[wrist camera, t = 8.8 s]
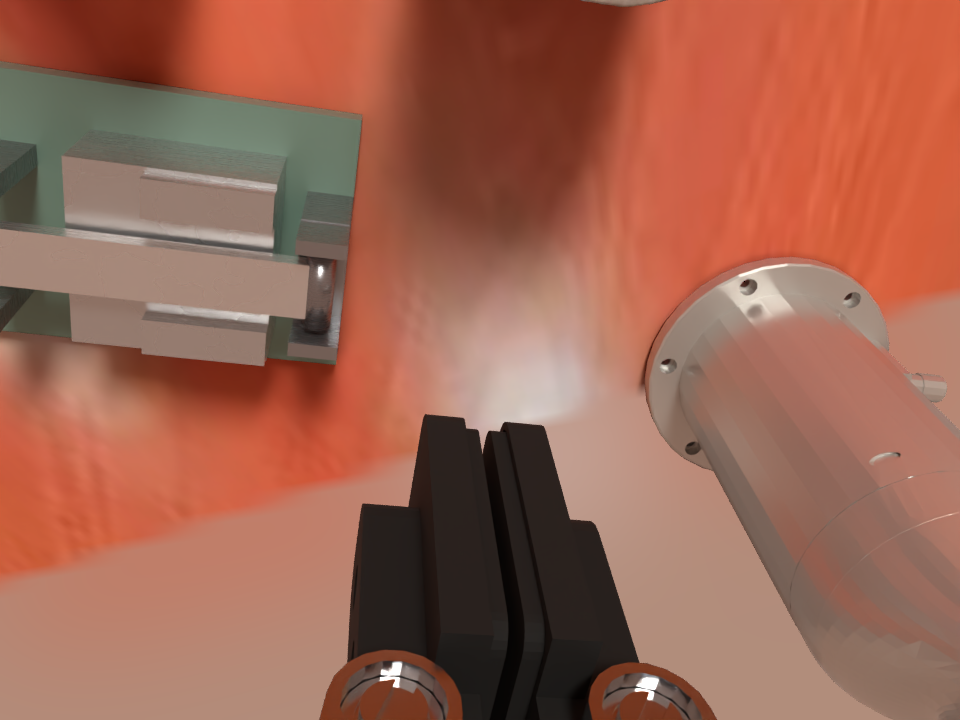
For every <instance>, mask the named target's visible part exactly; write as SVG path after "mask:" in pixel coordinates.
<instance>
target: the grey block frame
mask: <svg viewBox="0 0 960 720" xmlns="http://www.w3.org/2000/svg"><path fill="white" fill-rule="evenodd" d="M61 157H62V175H63V193H64V210H65V228H67V229H75V230H83V231H91V232H100V233H108V234H116V235H124V236H133V237H141V238H149V239H157V240H166V241H174V242H182V243H191V244H199V245H207V246H215V247H224V248H232V249H240V250H248V251H257V252H265V253H273V254H280V252H281V237H282V222H283V207H284V192H285V177H286V162H287V156H279V155H272V154H265V153H258V152H250V151H243V150H236V149H229V148H222V147H214V146H207V145H200V144H193V143H185V142H178V141H171V140H164V139H156V138H149V137H142V136H135V135H128V134H120V133H113V132H106V131H99V130H90V131H89V132H88V133H86V134H85V135H84V136H83V137H82V138H81V139H80V140H79V141H77V142H76V143H75V144H74V145H73V146H72V147H71V148H70V149H69V150H67V151H66V152H65V153H64V154H63V155H62V156H61ZM37 165H38V163H37V148H36V144H30V143H23V142H15V141H8V140H0V197H1V196H3V195H4V194H5V193H6V192H7V191H8V190H10V189H11V188H12V187H13V186H14V185H15V184H17V183H18V182H19V181H20V180H21V179H22V178H24V177H25V176H26V175H27V174H28V173H29V172H30V171H32V170H33V169H34V168H35V167H36V166H37ZM353 199H354V197H351V196H343V195H336V194H328V193H320V192H313V191H308V193H307V197H306V201H305V205H304V209H303V213H302V217H301V222H300V226H299V230H298V234H297V238H296V246H295V255H298V257H306V258H307V256H311V257H319V258H328V259H336V260H337V264H336V274H335V284H334V294H333V304H332V315H331V325H330V328H329V329H328V330H325V331H311V330H308V329H305V328H304V327H303V326H302V325H301V321H302V319H298V318H293V323H292V327H291V332H290V337H289V342H288V352H287V356H295V357H305V358H314V359H324V360H334V361H336V360H337V350H338V341H339V331H340V322H341V313H342V303H343V294H344V284H345V275H346V265H347V256H348V246H349V237H350V227H351V218H352V209H353ZM34 291H35V290H34V289H25V288H16V287H7V286H0V332H1V331H2V330H3V328H4V327H5V326H6V325H7V324H8V322H9V321H10V320H11V319H12V318H13V316H14V315H15V314H16V313H17V312H18V310H19V309H20V308H21V307H22V306H23V304H24V303H25V302H26V301H27V299H28V298H29V297H30V296H31V295H32V293H33V292H34ZM69 299H70V317H71V334H72V341H73V342H83V343H93V344H103V345H113V346H122V347H132V348H142V354H147V355H157V356H167V357H177V358H187V359H197V360H207V361H217V362H227V363H237V364H247V365H257V366H264V364H265V361H266V359H267V355H268V351H269V347H270V343H271V339H272V335H273V331H274V327H275V323H276V316H271V315H262V314H253V313H244V312H234V311H225V310H216V309H207V308H198V307H189V306H180V305H171V304H162V303H153V302H143V301H134V300H125V299H116V298H107V297H98V296H89V295H80V294H71V293H69Z"/></svg>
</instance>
